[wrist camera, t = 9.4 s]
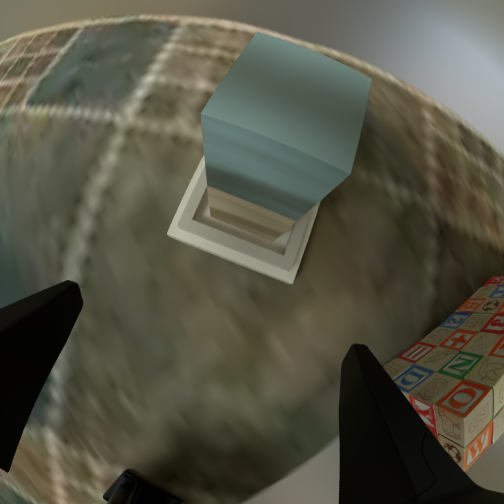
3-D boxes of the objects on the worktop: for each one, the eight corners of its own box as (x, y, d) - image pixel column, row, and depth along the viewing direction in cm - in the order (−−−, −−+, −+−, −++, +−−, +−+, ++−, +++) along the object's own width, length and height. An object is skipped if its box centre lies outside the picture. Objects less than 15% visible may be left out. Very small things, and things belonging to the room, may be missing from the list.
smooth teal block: (273, 241, 21) (350, 174, 8) (210, 216, 21) (200, 113, 8) (294, 184, 22) (372, 79, 9) (235, 160, 21) (257, 31, 9)
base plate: (288, 284, 22) (296, 283, 20) (169, 237, 21) (164, 231, 19) (325, 175, 23) (334, 165, 21) (219, 132, 23) (219, 119, 21)
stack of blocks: (490, 274, 25) (565, 264, 13) (498, 316, 25) (569, 317, 13) (369, 374, 22) (465, 420, 10) (384, 421, 21) (464, 475, 9)
